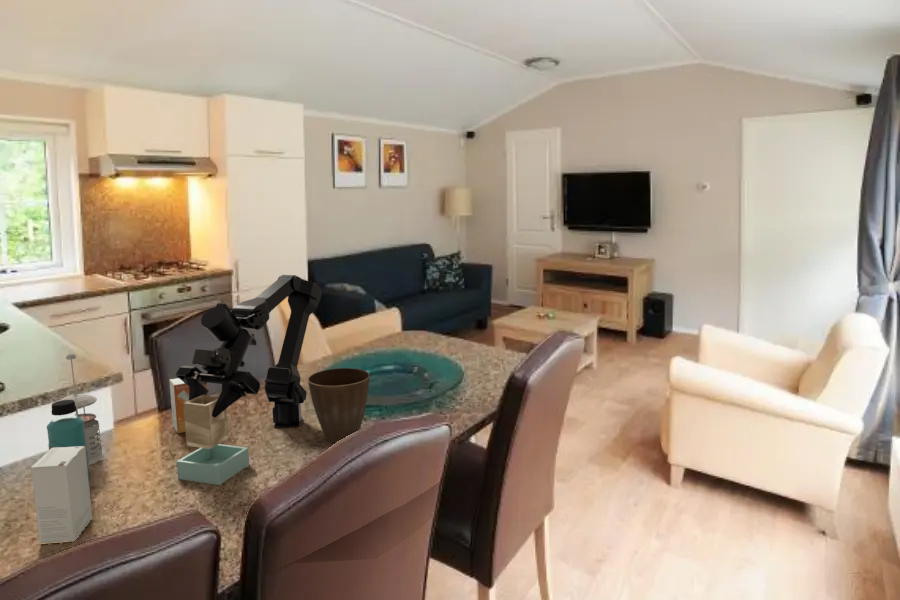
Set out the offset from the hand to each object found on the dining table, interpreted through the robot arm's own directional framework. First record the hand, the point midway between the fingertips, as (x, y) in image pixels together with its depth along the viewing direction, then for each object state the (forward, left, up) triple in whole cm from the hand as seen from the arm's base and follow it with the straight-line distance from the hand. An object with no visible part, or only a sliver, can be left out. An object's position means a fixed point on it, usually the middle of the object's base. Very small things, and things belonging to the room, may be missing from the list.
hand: (201, 415), depth 130 cm
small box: (+13, -29, -14) cm, 34 cm away
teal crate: (-1, -1, -13) cm, 14 cm away
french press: (+32, -12, -14) cm, 36 cm away
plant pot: (-27, -17, -14) cm, 35 cm away
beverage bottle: (+24, +8, -14) cm, 28 cm away
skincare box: (+18, +22, -14) cm, 31 cm away
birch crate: (-1, -1, -7) cm, 7 cm away
